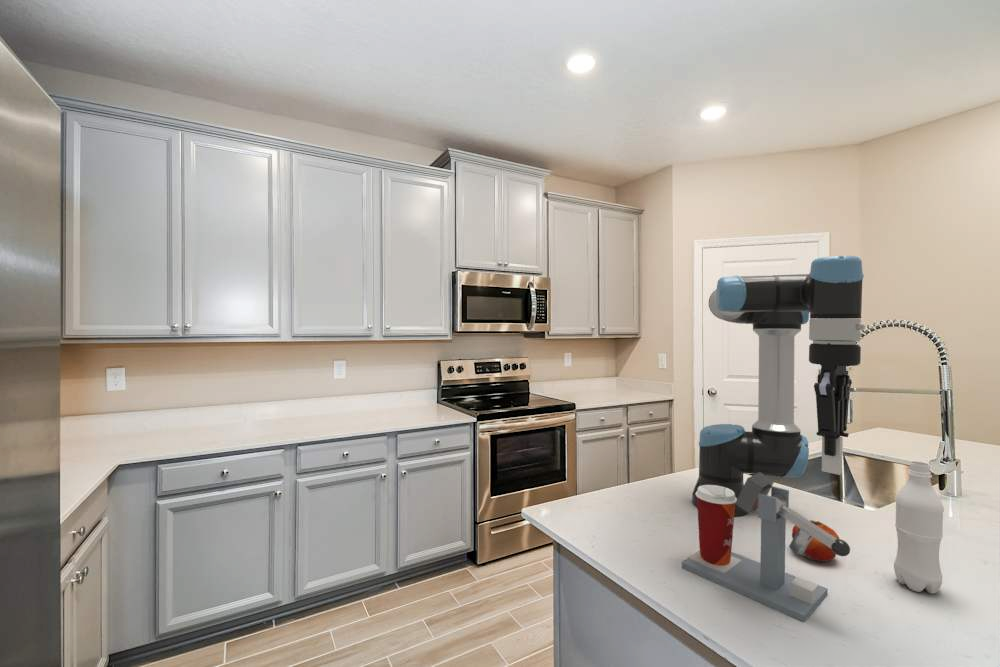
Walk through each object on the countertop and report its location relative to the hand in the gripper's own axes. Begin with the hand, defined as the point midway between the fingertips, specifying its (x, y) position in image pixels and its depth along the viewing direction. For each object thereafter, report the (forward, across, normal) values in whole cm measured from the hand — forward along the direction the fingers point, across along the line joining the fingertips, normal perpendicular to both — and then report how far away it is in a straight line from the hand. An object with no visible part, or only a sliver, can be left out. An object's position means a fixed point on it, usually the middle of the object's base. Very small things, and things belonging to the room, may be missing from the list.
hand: (831, 472), depth 82 cm
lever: (+15, 0, +8) cm, 17 cm away
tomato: (+26, +22, +8) cm, 35 cm away
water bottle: (+26, +24, -9) cm, 36 cm away
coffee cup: (+25, 0, +21) cm, 32 cm away
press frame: (+26, 0, +13) cm, 29 cm away
